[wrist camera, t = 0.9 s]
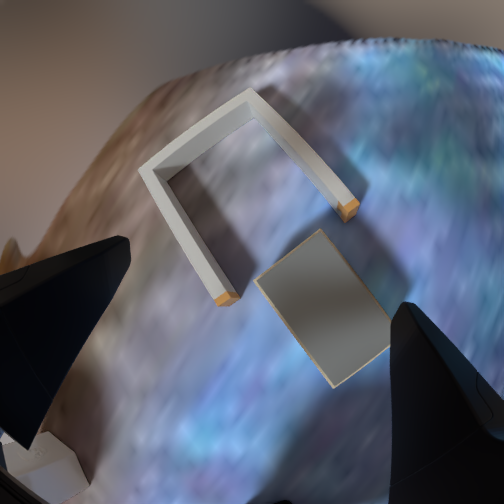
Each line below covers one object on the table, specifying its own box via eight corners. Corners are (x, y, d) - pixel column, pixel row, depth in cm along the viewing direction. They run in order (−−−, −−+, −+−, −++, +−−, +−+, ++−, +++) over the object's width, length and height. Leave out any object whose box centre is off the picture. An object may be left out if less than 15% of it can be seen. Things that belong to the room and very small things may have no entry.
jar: (90, 461, 21) (8, 501, 10) (90, 505, 20) (25, 544, 9) (37, 419, 23) (-40, 437, 12) (40, 464, 23) (-25, 488, 11)
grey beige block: (388, 330, 19) (404, 336, 15) (330, 374, 19) (333, 390, 15) (320, 240, 21) (320, 226, 17) (263, 284, 21) (251, 280, 17)
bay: (355, 215, 20) (360, 203, 18) (229, 306, 21) (218, 306, 19) (256, 105, 23) (250, 87, 21) (152, 180, 24) (137, 169, 22)
